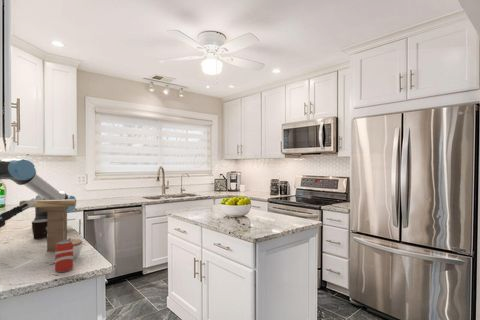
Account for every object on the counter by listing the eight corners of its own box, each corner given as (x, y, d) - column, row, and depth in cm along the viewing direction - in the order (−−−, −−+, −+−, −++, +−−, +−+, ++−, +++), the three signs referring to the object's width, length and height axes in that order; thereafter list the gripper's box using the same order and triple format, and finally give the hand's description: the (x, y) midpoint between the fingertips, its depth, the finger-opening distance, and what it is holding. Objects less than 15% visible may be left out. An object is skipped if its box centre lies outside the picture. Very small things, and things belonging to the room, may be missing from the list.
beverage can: (69, 266, 123) (69, 239, 123) (74, 270, 119) (75, 241, 119) (53, 270, 119) (53, 241, 119) (58, 274, 114) (58, 245, 114)
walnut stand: (44, 247, 149) (45, 205, 149) (68, 246, 152) (68, 204, 152) (38, 253, 140) (38, 207, 140) (63, 251, 144) (64, 207, 144)
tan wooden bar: (22, 206, 144) (23, 200, 144) (76, 204, 151) (76, 199, 151) (19, 207, 140) (19, 201, 140) (74, 206, 147) (74, 200, 147)
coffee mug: (39, 240, 163) (40, 222, 163) (27, 239, 165) (27, 222, 165) (56, 234, 174) (56, 218, 174) (45, 234, 176) (45, 218, 176)
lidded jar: (82, 259, 131) (82, 239, 131) (54, 263, 126) (54, 242, 126) (81, 253, 141) (82, 234, 141) (56, 256, 135) (56, 237, 135)
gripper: (6, 225, 149) (49, 202, 155) (-17, 235, 128) (34, 208, 134) (-2, 213, 148) (42, 190, 154) (-27, 221, 127) (25, 195, 133)
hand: (38, 199), depth 144 cm, fingers open, 9 cm apart
